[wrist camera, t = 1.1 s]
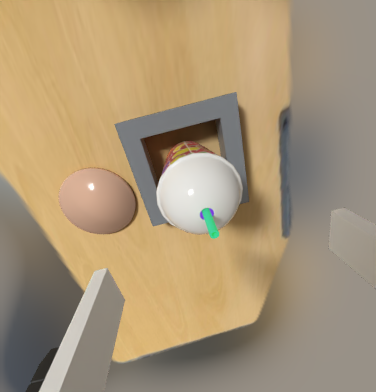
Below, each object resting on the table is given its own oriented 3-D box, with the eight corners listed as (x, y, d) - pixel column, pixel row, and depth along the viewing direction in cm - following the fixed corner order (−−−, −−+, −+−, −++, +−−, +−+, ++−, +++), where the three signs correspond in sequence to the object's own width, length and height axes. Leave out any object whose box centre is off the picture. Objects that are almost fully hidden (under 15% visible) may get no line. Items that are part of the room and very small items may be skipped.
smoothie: (218, 175, 33) (282, 258, 15) (172, 192, 33) (178, 293, 15) (204, 126, 29) (263, 154, 11) (152, 145, 30) (128, 203, 12)
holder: (120, 122, 28) (114, 124, 25) (228, 94, 28) (236, 92, 25) (154, 215, 35) (152, 226, 31) (241, 193, 34) (249, 201, 31)
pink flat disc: (45, 178, 30) (43, 179, 30) (120, 159, 30) (119, 160, 30) (81, 239, 35) (80, 241, 35) (145, 223, 35) (144, 224, 35)
